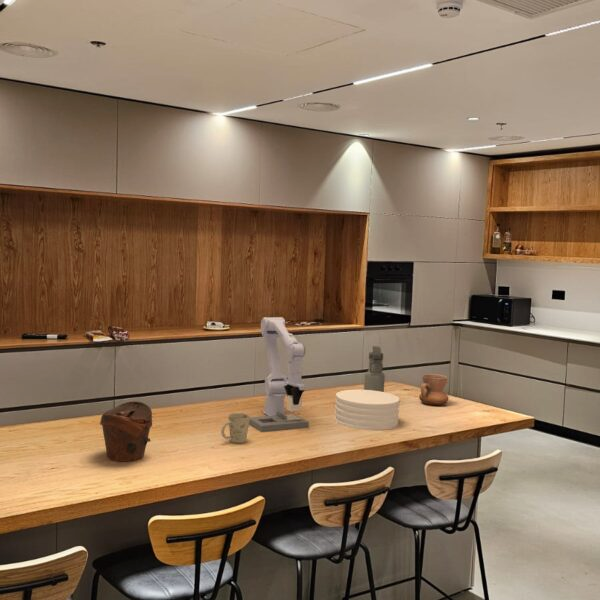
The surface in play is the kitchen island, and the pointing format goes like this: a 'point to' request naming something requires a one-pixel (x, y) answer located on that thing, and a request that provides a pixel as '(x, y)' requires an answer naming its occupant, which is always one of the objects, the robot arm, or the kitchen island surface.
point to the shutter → (287, 417)
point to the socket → (276, 423)
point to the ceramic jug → (433, 389)
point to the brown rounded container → (126, 430)
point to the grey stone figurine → (375, 371)
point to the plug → (291, 406)
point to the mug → (237, 427)
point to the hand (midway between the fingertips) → (293, 403)
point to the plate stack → (367, 409)
